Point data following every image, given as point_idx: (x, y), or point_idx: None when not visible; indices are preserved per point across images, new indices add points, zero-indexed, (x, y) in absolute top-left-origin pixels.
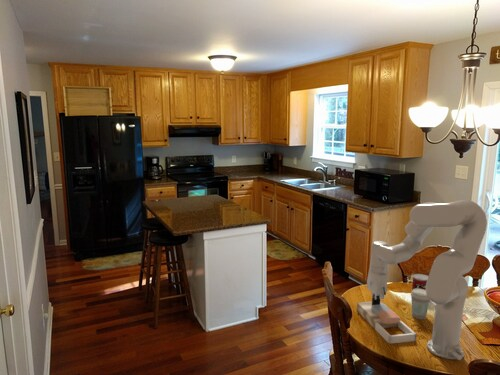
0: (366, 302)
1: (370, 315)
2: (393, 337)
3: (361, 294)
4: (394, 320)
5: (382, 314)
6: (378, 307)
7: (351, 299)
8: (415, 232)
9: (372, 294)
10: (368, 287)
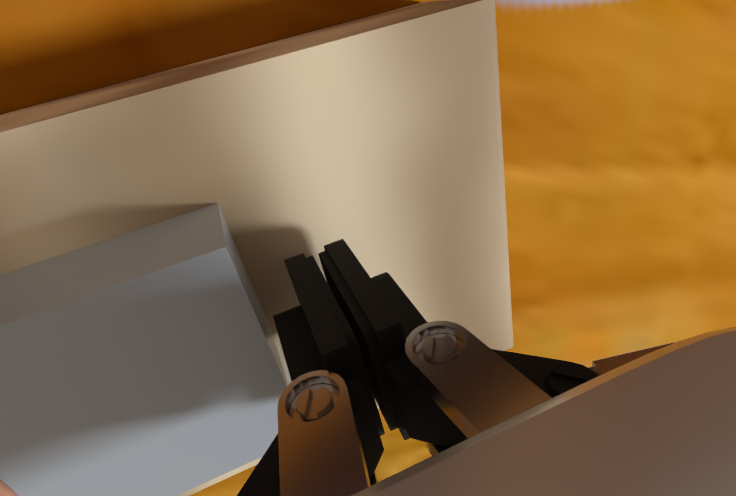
0: (488, 169)
1: None
2: None
3: (725, 159)
4: None
5: None
6: (140, 367)
7: (682, 13)
8: None
9: (461, 372)
10: (728, 405)
